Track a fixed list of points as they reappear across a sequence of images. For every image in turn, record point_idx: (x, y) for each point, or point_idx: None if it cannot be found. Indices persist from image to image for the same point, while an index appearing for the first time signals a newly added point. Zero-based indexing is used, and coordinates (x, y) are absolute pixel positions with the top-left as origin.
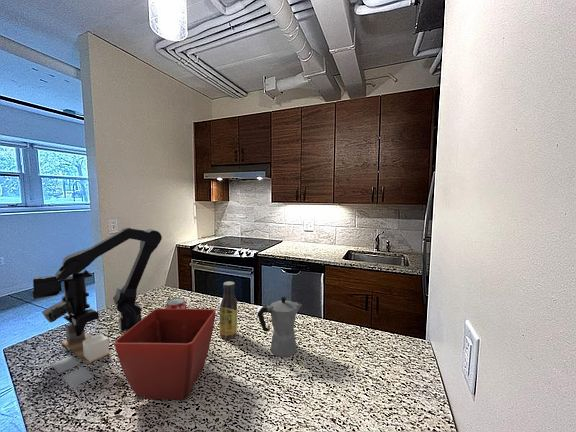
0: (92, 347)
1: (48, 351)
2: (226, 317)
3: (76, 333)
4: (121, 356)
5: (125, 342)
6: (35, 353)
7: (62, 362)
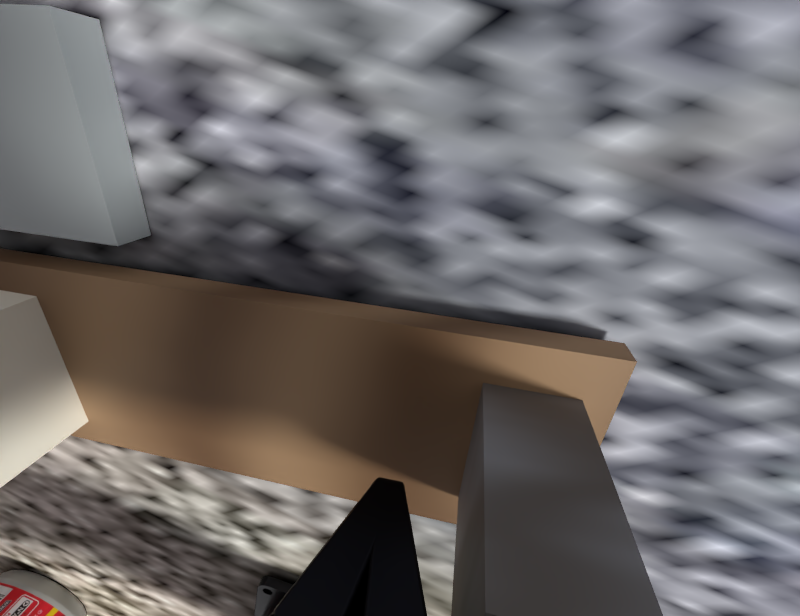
0: None
1: (596, 170)
2: None
3: (350, 515)
4: None
5: None
6: (774, 15)
7: (17, 123)
